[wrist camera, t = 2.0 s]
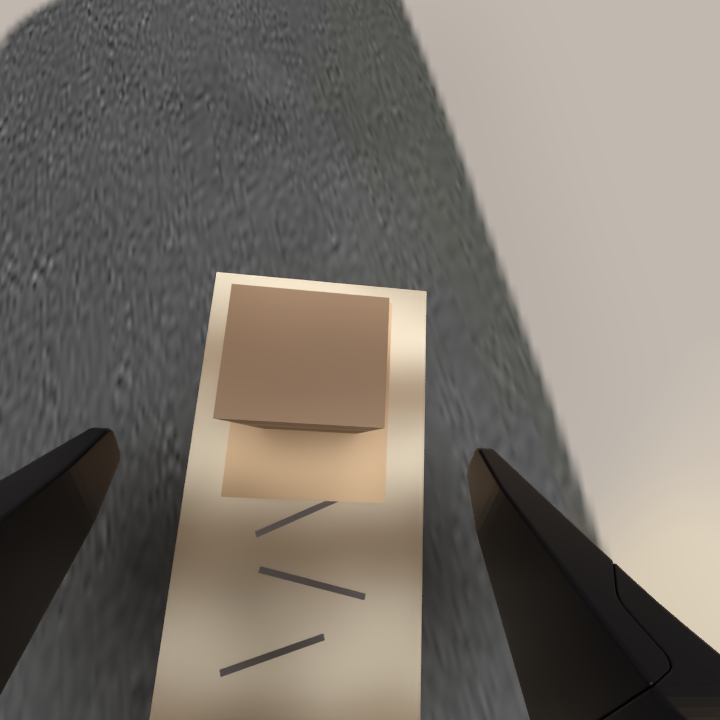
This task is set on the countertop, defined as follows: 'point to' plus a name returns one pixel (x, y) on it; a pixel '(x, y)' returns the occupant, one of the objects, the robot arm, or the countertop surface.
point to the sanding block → (305, 395)
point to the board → (299, 565)
